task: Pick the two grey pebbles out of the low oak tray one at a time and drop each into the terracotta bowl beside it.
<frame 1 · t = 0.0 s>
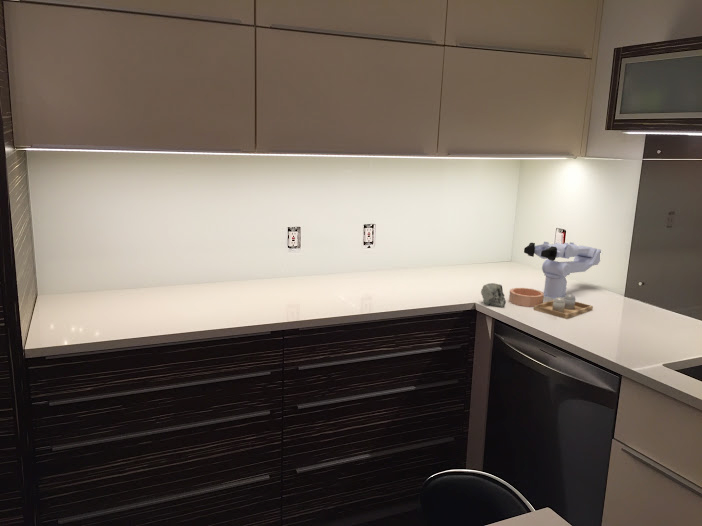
hand: (533, 251, 242), 22 cm above the worktop, tool horizontal, fingers open, 7 cm apart
bowl: (525, 303, 248), on the worktop
pebble b: (558, 311, 236), point 1 cm above the worktop, touching tray
pebble a: (568, 308, 241), point 1 cm above the worktop, touching tray
tray: (563, 311, 239), on the worktop
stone: (492, 305, 244), on the worktop
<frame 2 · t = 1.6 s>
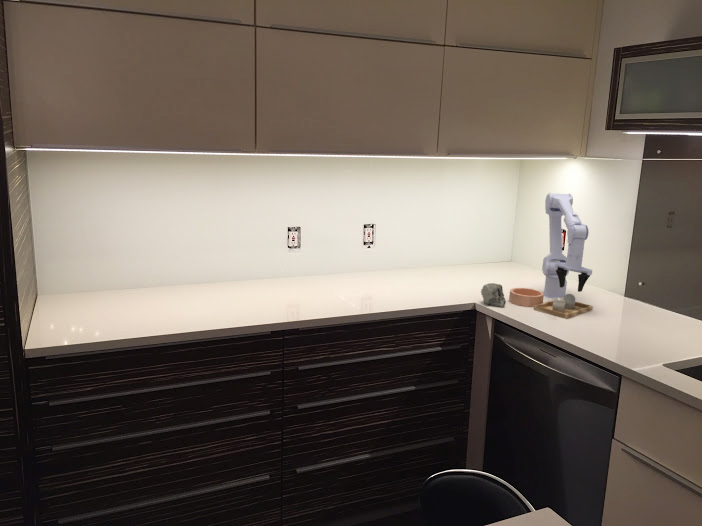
hand: (570, 289, 239), 8 cm above the worktop, tool pointing down, fingers open, 7 cm apart
nothing on the worktop moved.
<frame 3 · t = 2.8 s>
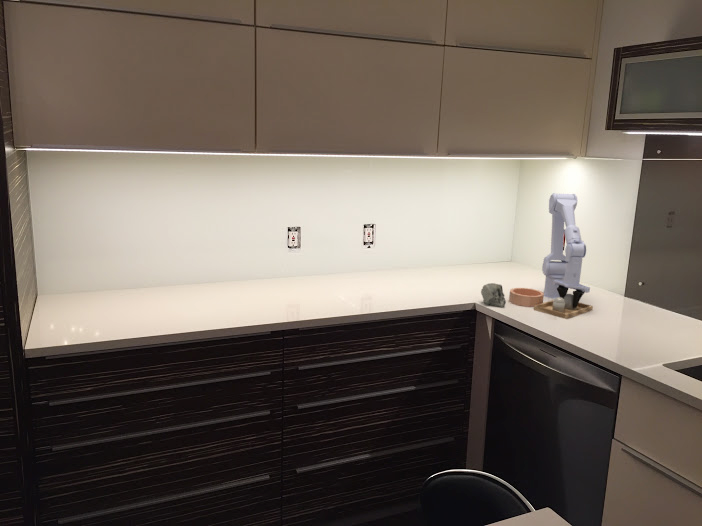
hand: (568, 306, 241), 1 cm above the worktop, tool pointing down, fingers closed on pebble a, 4 cm apart
pebble a: (568, 308, 241), point 1 cm above the worktop, touching gripper, tray
everything else where it was.
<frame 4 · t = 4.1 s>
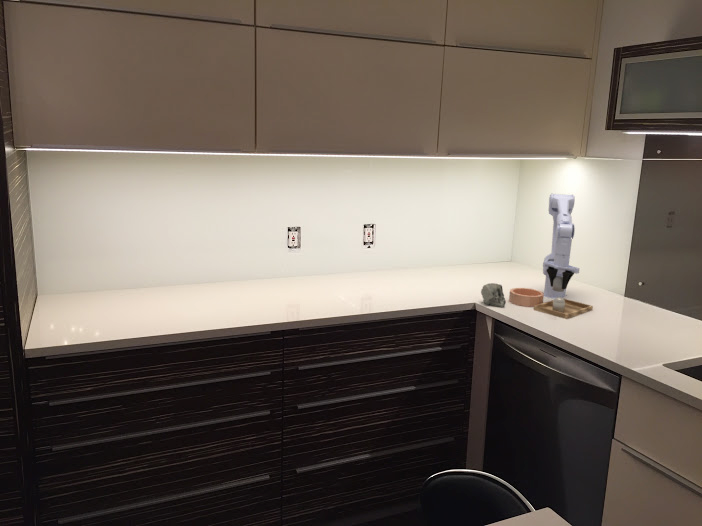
hand: (558, 287, 242), 8 cm above the worktop, tool pointing down, fingers closed on pebble a, 4 cm apart
pebble a: (558, 290, 242), point 7 cm above the worktop, touching gripper
everything else where it was.
when the fingers open (6 cm above the worktop, at t = 5.6 s): pebble a drops 4 cm, resting on bowl.
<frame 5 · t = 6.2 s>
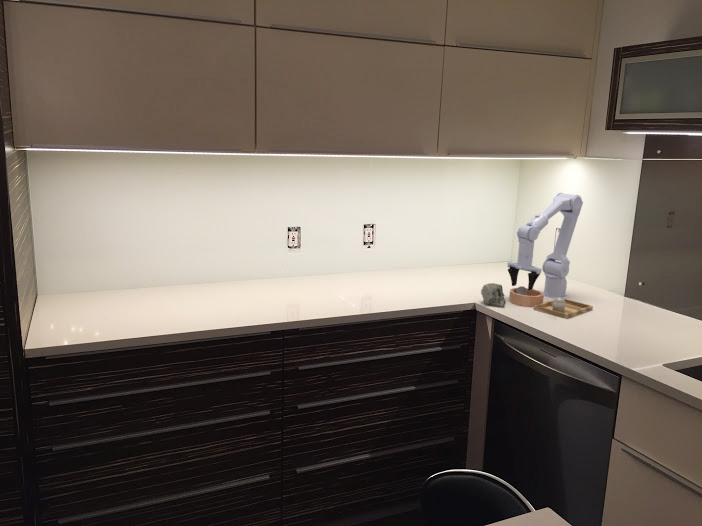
hand: (522, 287, 248), 6 cm above the worktop, tool pointing down, fingers open, 7 cm apart
pebble a: (520, 300, 249), point 1 cm above the worktop, touching bowl
everything else where it was.
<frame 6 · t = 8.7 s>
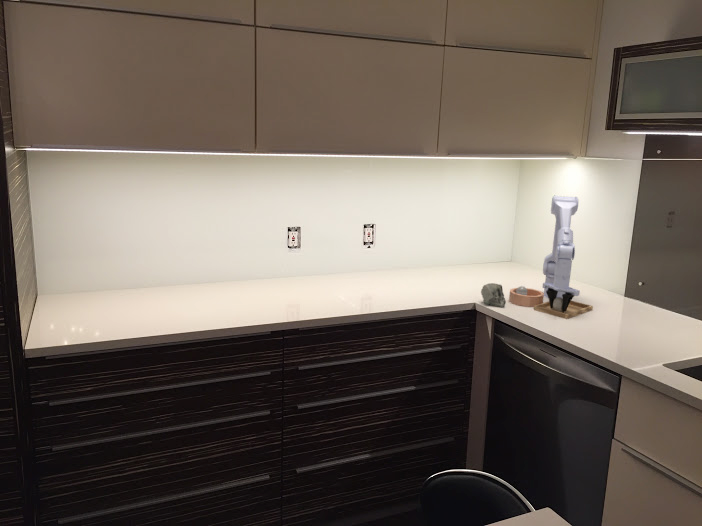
hand: (558, 309, 236), 1 cm above the worktop, tool pointing down, fingers closed on pebble b, 4 cm apart
pebble b: (558, 311, 236), point 1 cm above the worktop, touching gripper, tray
everything else where it was.
when the fingers open (6 cm above the worktop, at t = 11.1 s): pebble b drops 4 cm, resting on bowl.
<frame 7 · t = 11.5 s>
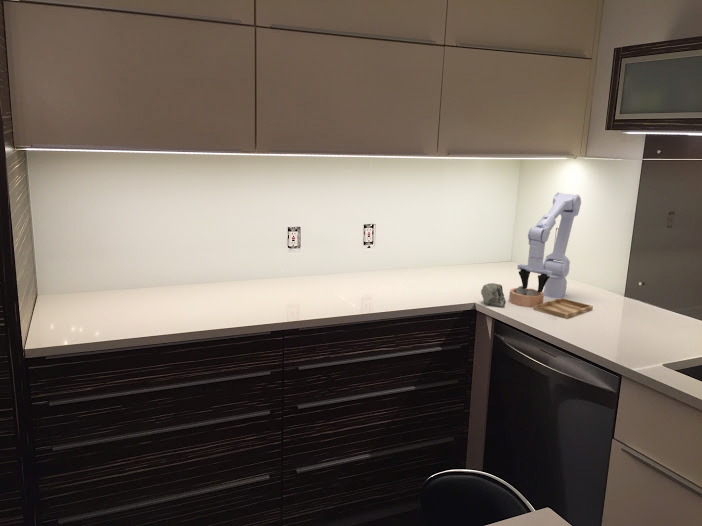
hand: (532, 290, 244), 6 cm above the worktop, tool pointing down, fingers open, 6 cm apart
pebble b: (530, 303, 246), point 1 cm above the worktop, touching bowl
pebble a: (520, 299, 249), point 1 cm above the worktop, touching bowl, gripper
everything else where it was.
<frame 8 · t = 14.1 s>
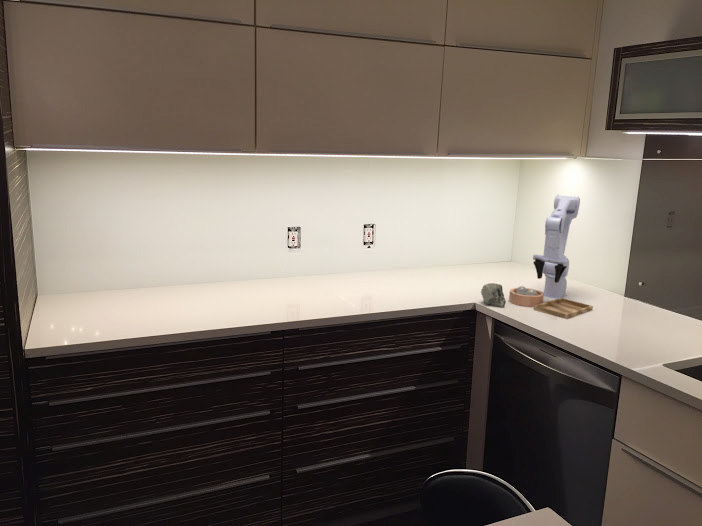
hand: (548, 280, 244), 10 cm above the worktop, tool pointing down, fingers open, 7 cm apart
pebble a: (520, 300, 249), point 1 cm above the worktop, touching bowl
everything else where it was.
at the end: pebble a inside the target area on the bowl (2.4 cm from its centre), point 0.8 cm above the bowl's base; pebble b inside the target area on the bowl (2.4 cm from its centre), point 0.8 cm above the bowl's base; the gripper is holding nothing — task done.
